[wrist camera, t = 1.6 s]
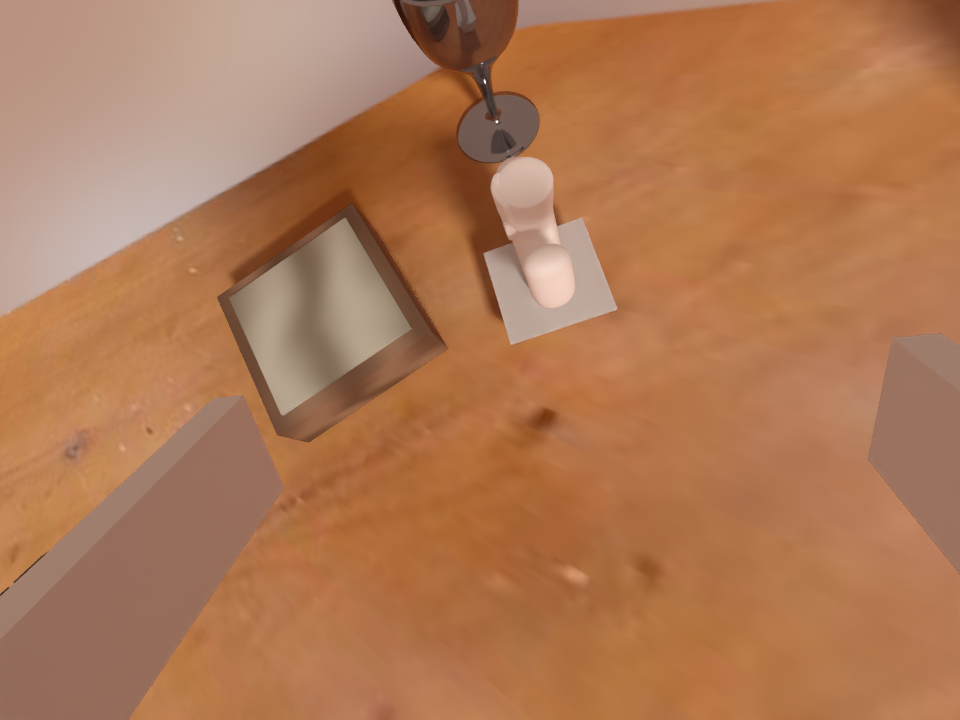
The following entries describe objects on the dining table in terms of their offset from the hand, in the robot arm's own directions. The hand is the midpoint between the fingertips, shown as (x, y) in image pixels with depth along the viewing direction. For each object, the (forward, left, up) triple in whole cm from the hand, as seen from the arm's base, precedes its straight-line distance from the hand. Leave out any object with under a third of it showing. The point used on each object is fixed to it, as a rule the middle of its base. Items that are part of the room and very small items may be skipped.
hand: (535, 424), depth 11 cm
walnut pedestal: (+10, -20, -25) cm, 34 cm away
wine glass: (-10, -28, -25) cm, 39 cm away
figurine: (-5, -12, -25) cm, 29 cm away
